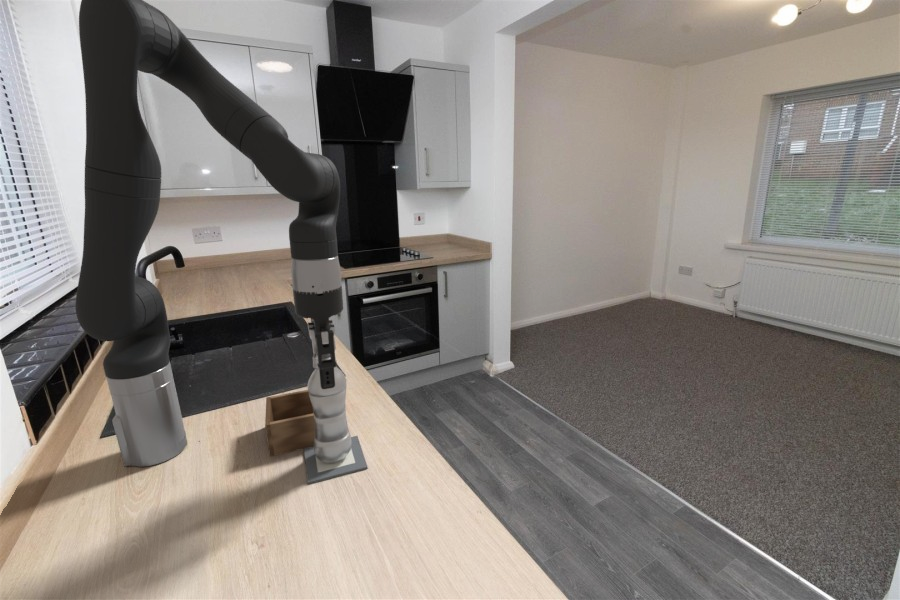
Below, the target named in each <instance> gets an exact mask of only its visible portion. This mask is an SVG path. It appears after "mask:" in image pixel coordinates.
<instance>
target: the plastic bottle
mask: <svg viewBox="0 0 900 600" xmlns="http://www.w3.org/2000/svg"><path fill="white" fill-rule="evenodd" d="M336 357H337V356H335V362H336V365H337V364H338V362H337V358H336ZM329 359H330V354H324V355H322V360H329ZM317 363H318V359H317V356H316V355H314V354H313V355H312V367H313V369H314V370H313V371H312V373H311V375H310V377H309V379H308V381H307V387H306V388H307V390H308V392H309V396H310V400H311V403H312V408H313V413H314V420H315V437H314V452H315V455H316V457H317V458H318V459H319V460H320V461H321V462H324V463H335V462H338V461H341V460H342V459H344V458H345V457H346V456H347V455H348V453H349V452H350V450H351V444H352V439H351V437H352V436H351V432H350V429H349V424H348V419H347V411H346V397H347V378H346V376H345V374H344V372H343V371H342V370H341V369H340V368H339V367H338V366H336V367H334V377H335V387H333V388H329V389H322V388H321V384H320V373H319V368H318V366H317Z"/></svg>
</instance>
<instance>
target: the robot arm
mask: <svg viewBox="0 0 900 600" xmlns="http://www.w3.org/2000/svg"><path fill="white" fill-rule="evenodd" d="M78 30H79V31H78V33H79V34H78V35H79V41H80V42H79V43H80V52H81V53H80V54H81V63H82V71H83V81H84V82H83V83H84V84H83V85H84V95H85V98H84V99H85V131H86V132H85V156H84V188H83V189H84V218H83V219H84V220H83V249H82V258H81V266H80V271H79V277H78V283H77V289H76V295H75V314H76V319H77V322H78V323H79V326H80V328H81V329H82V330H83V331H84V333H86V335H88V336H89V337H91V338H92V339H95V340H97V341H101V342H112V345H111V347H110V349H109V351H108V353H107V354H106V355H105V357H104V359H103V362H102V367H103V372H104V375H105V377H106V378H105V379H106V381H107V385H108V389H109V393H110V396H111V401H112V404H113V408H114V412H115V415H114V416H113V418H112V421H111V422H112V425H113V429H114V434H115V437H116V440H117V445H118V448H119V451H120V455H121V459H122V462H123V465H124V467H129V466H134V467H141V468H143V467H150V466H155V465H158V464H161V463H164V462H166V461H168V460H171V459H173V458H174V457H176V456H178V455H179V454H181V452H183V451H184V450H185V448H186V447H187V445H188V439H187V433H186V429H185V425H184V421H183V416H182V411H181V407H180V402H179V398H178V393H177V390H176V384H175V380H174V375H173V371H172V370H173V369H172V365H171V361H170V357H169V354H170V353H169V352H170V347H171V335H170V334H171V332H170V329H169V322H168V315H167V309H166V305H165V301H164V298H163V296H162V294H161V292H160V289H158V288H157V286H156V285H155V284H154V283H153V282H152V281H150V280H148V279H147V278H144V277H140V276H136V271H137V270H136V268H137V263H138V257H139V254H140V252H141V249H142V247H143V244H145V241H146V239H147V236H148V235H149V234H150V231H151V230H152V226H153V224H154V222H155V220H156V218H157V215H158V211H159V208H160V202H161V201H160V200H161V189H162V187H161V186H162V164H161V161H160V158H159V154H158V152H157V150H156V146H155V144H154V143H153V140H152V138H151V136H150V132H149V131H148V130H147V129H148V128H147V126H146V124H145V122H144V119H143V117H142V114H141V110H140V105H139V99H138V73H139V72H142V73H145V74H151V75H153V76H156V77H157V78H159V79H161V80H162V81H164V82H166V83H168V84H170V85H171V86H172V87H174V88H176V89H177V90H179V91H180V92H182V94H184V95H185V96H186V97H188V98H189V99H190V101H192V102H193V103H194V104H195V105H196V107H197V108H198V110H199V112H201V114H202V115H203V117H204V118H205V120H206V121H207V123H209V125H210V126H211V127H212V129H214V130H215V131H216V132H217V133H218V134H219V135H220V136H221V137H222V138H223V139H224V140H225V141H227V142H228V143H229V144H230V145H231V146H232V147H234V148H235V149H236V150H238V151H239V152H240V153H241V154H242V155H244V156H245V157H246V158H247V159H249V160H250V161H251V162H252V163H253V165H254V166H255V168H256V169H257V171H259V173H260V174H261V175H262V176H263V177H264V179H265V180H266V181H267V182H268V183H269V185H270V186H271V187H272V188H273V189H274V190H275V191H277V192H278V193H279V194H281V195H282V196H283V197H285V198H287V199H289V200H290V201H292V202H297V203H298V212H297V213H298V214H297V217H296V218H295V219H293V220H292V221H291V222H290V224H289V227H288V239H289V249H290V257H291V258H290V260H291V261H290V262H291V263H290V264H291V265H290V266H291V267H290V274H291V276H290V277H291V284H292V285H291V286H292V293H293V294H292V295H293V305H294V312H295V315H297V316H298V317H299V318H302V319H310V322H307V329H308V330H307V331H308V335H309V338H310V341H311V342H312V343H311V345H312V352H313V355H316V356H317V359H318V363H317V366H318V368H319V373H320V384H321V388H322V389H329V388H333V387H335V377H334V367H337V364H336V362H335V357H336V353H335V352H336V348H337V347H336V341H335V339H336V338H335V334H336V327H335V324H333V319H330V318H331V317H333V316H337V315H339V314H340V313H342V312H343V310H344V300H343V283H342V272H341V271H342V270H341V265H340V260H339V252H338V251H339V250H338V237H337V229H336V228H337V222H338V217H339V208H340V199H341V181H340V180H341V179H340V176H339V172H338V170H337V167H336V165H335V164H334V162H332V160H331V159H330V158H329V157H326V156H325V155H323V154H319V153H314V152H313V153H312V152H306V151H304V150H303V149H301V148H299V147H298V146H296V145H295V143H294V142H292V141H291V140H290V139H289V135H288V131H287V130H286V129H285V127H284V126H283V125H282V124H281V123H280V122H279V121H278V120H277V119H275V117H273V115H271V114H270V113H268V111H266V110H265V109H264V108H263V107H261V106H260V105H259V104H258V103H256V102H255V100H253V99H252V98H250V97H249V96H248V94H245V93H244V91H242V90H240V89H239V88H238V87H237V86H236V85H235V84H234V83H232V82H231V81H230V80H228V78H227V77H225V76H224V75H223V74H222V73H221V72H220V71H218V69H216V68H215V66H213V65H212V63H210V62H209V61H208V60H207V58H205V56H204V55H202V53H201V52H200V51H199V50H198V49H197V48H196V47H195V45H194V44H193V43H192V41H190V40H189V38H187V36H186V34H184V33H183V31H181V29H180V28H179V27H178V26H177V25H176V24H175V23H174V22H173V21H172V20H171V18H170V17H168V16H167V14H165V13H164V12H163V11H162V10H159V9H158V8H157V7H156V6H153V5H151V4H150V3H148V2H146V1H144V0H81V1H80V6H79V12H78ZM138 71H139V72H138ZM324 354H330V359H329V360H322V355H324Z"/></svg>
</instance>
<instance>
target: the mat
mask: <svg viewBox="0 0 900 600" xmlns="http://www.w3.org/2000/svg"><path fill="white" fill-rule="evenodd" d="M351 439H352V444H351V450H350V452H349V453H348V455H347V456H346V457H345V458H344V459H342V460H341V461H338V462H335V463H324V462H321V461H320V460H319V459H318V458H317V457H316V455H315V452H314V446H311V447H307V448H304V449H303V450H304V459H305V460H304V461H305V470H306V478H307V485H310V484H311V485H312V484H315V483H317V482H318V483H319V482H322V481H326V480H330V479H333V478H337V477H340V476H345V475H349V474H352V473H357V472H359V471H364V470H367V469H369V468H368V464H367V461H366V458H365V455H364V452H363V448H362V446H361V443H360V440H359V436H358V435H354V436H351Z"/></svg>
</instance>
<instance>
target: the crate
mask: <svg viewBox="0 0 900 600" xmlns="http://www.w3.org/2000/svg"><path fill="white" fill-rule="evenodd" d="M265 401H266V402H265V417H264V418H265V421H264V425H265V426H264V427H265V433H266V434H265V435H266V439H267V446H268V452H269V457H272V456H277V455H282V454H286V453H291V452H294V451H298V450H304V448H307V447H311V446H314V437H315V420H314V413H313V408H312V403H311V400H310V396H309V392H308V389H304V390H298V391H294V392H289V393H288V392H287V393H283V394H278V395H277V394H276V395H273V396H267V397H266V398H265Z"/></svg>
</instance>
